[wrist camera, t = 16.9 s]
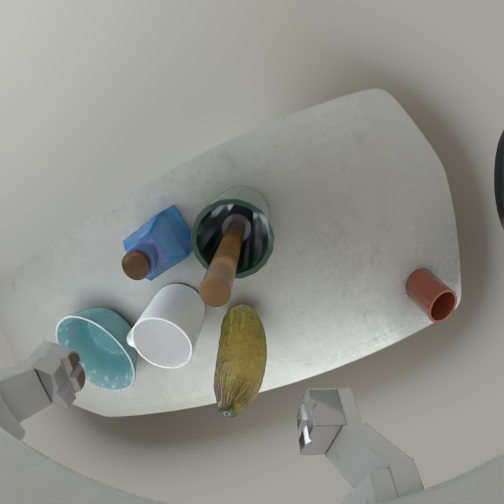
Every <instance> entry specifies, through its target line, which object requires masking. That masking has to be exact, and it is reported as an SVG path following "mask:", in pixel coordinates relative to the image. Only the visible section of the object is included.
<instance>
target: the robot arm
mask: <svg viewBox="0 0 504 504" xmlns="http://www.w3.org/2000/svg"><path fill="white" fill-rule="evenodd" d="M79 361H80V357H79V354H78V352H76V351H74V350H71V349H68V348H66V347H63V346H61V345H58V344H55V343H53V342H50V341H44V342H43V343H42V344H41V345H40V346H39V347H38V348H37V349H36V350H35V351H34V352H33V353H32V354H31V355H30V356H29V357H28V358H27V360H26V361H25V362H24V363H22V362H19V363H16V364H13V365H11V366H8V367H5V368H2V369H0V504H168V503H164V502H160V501H156V500H152V499H149V498H145V497H141V496H138V495H135V494H132V493H129V492H126V491H123V490H120V489H117V488H114V487H112V486H109V485H106V484H104V483H101V482H99V481H96V480H94V479H92V478H89V477H87V476H85V475H82V474H80V473H78V472H76V471H74V470H72V469H70V468H68V467H66V466H64V465H62V464H60V463H58V462H56V461H54V460H52V459H51V458H49V457H47V456H45V455H44V454H42V453H40V452H39V451H37V450H35V449H34V448H32V447H30V446H29V445H27V444H25V443H24V442H23V441H21V440H22V439H23V437H24V435H25V430H24V429H23V428H22V426H21V425H20V422H21V421H23V420H25V419H27V418H28V417H30V416H31V415H33V414H35V413H37V412H39V411H40V410H42V409H44V408H45V407H47V406H49V405H50V404H51V402H52V403H54V404H56V405H59V406H61V407H64V408H66V409H69V408H70V406H71V405H72V403H73V402H74V400H75V399H76V396H75V393H76V392H78V391H81V389H82V388H83V386H84V383H85V379H86V377H85V371H84V368H83V367H82V366H81V365H80V363H79ZM303 398H304V402H303V403H302V404H300V408H299V411H298V430H299V431H300V432H301V433H302V434H301V436H300V438H299V443H300V452H301V455H314V454H325V456H326V457H327V458H328V459H329V461H330V462H331V463H332V464H333V465H334V466H335V467H336V469H337V470H338V471H339V472H340V473H341V474H342V475H343V477H344V478H345V479H346V480H347V481H348V482H349V483H350V484H351V485H352V486H353V488H354V489H353V490H352V491H351V492H350V493H349V494H348V495H347V496H345V497H344V499H342V504H504V455H498V456H496V457H493V458H491V459H490V460H488V461H486V462H484V463H482V464H481V465H479V466H477V467H475V468H473V469H471V470H469V471H467V472H465V473H463V474H461V475H458V476H456V477H454V478H452V479H449V480H447V481H445V482H442V483H440V484H437V485H435V486H432V487H429V488H427V489H424V487H423V484H422V481H421V479H420V475H419V473H418V470H417V467H416V464H415V462H414V459H413V458H411V457H409V456H408V455H407V454H406V453H404V452H403V451H402V450H400V449H399V448H398V447H396V446H395V445H394V444H392V443H391V442H390V441H389V440H387V439H386V438H385V437H383V436H382V435H381V434H380V433H378V432H377V431H376V430H374V429H373V428H372V427H371V426H370V425H368V424H367V423H362V420H361V417H360V414H359V411H358V408H357V404H356V401H355V398H354V395H353V393H352V390H351V389H350V388H340V389H339V388H338V389H306V391H305V393H304V396H303Z"/></svg>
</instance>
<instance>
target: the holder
mask: <svg viewBox="0 0 504 504" xmlns="http://www.w3.org/2000/svg"><path fill="white" fill-rule="evenodd" d="M406 291H407V294H408V296H409V297H410V298H411V299H412V300H413V301H414V302H415V303H416V305H417V306H418V307H419V308H420V309H421V310H422V311H423V312H424V313H425V314H426V316H427V317H428V318H429V319H430V320H431V321H433V322H434V323H436V322H437V323H438V322H442V321H444V320H445V319H447V318H448V317H449V316H450V315H451V313H452V312H453V311H454V309H455V306H456V303H457V296H456V293H455V292H454V291H453V290H452V289H450V288H449V287H448V286H447V285H446V284H444V283H443V282H442V281H441V280H439V279H438V278H437V277H436V276H434V275H433V274H432V273H431V272H429V271H428V270H426V269H419V270H417V271H415V272H414V273H413V274H412V275H411V276H410V277H409V279H408V281H407V285H406Z"/></svg>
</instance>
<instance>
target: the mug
mask: <svg viewBox="0 0 504 504" xmlns="http://www.w3.org/2000/svg"><path fill="white" fill-rule="evenodd" d="M204 317H205V304H204V302H203V300H202V299H201V297H200V295H199V294H198V293H197V292H196V291H195V290H194V289H192V288H191V287H189V286H186V285H183V284H170V285H167V286H165V287H163V288H162V289H161V290H160V291H159V292H158V293H157V294H156V295H155V297H154V298H153V300H152V301H151V302H150V304H149V305H148V307H147V308H146V309H145V311H144V312H143V314H142V315H141V317H140V318H139V319H138V321H137V322H136V324H135V325H134V327H133V328H132V329H131V330H130V332H129V333H128V335H127V343H128V344H129V345H130V346H132V347H135V348H136V350H137V352H138V353H139V354H140V355H141V356H142V357H143V358H144V359H145V360H147V361H148V362H150V363H152V364H153V365H156V366H158V367H162V368H168V369H173V368H179V367H181V366H183V365H185V364H186V363H188V362H189V360H190V359H191V357H192V354H193V351H194V348H195V345H196V342H197V339H198V336H199V333H200V330H201V327H202V324H203V321H204Z"/></svg>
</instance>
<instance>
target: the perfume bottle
mask: <svg viewBox="0 0 504 504" xmlns="http://www.w3.org/2000/svg"><path fill="white" fill-rule="evenodd" d="M123 243H124V247H125V251H126V252H127V254H126V255H125V256H124V257H123V260H122V267H123V270H124V272H125V274H126V275H127V276H128V277H130V278H131V279H134V280H141V279H144V278H147V279H149V280H153V279H154V278H156V277H157V276H159V275H160V274H162V273H163V272H165V271H166V270H168V269H170V268H171V267H173V266H174V265H176V264H177V263H179V262H180V261H182V260H183V259H185V258H187V257H188V256H189V254H190V253H191V251H192V250H193V247H192V244H191V230H190V229H189V227H188V226H187V224H186V223H185V221H184V220H183V218H182V217H181V216H180V214H179V213H178V211H177V210H176V208H175V207H174V205H173V206H172V207H170V208H168V209H166V210H164V211H163V212H161V213H159V214H158V215H156V216H155V217H154V218H152V219H151V220H150V221H148V222H147V223H146V224H144V225H143V226H142V227H140V228H139V229H138V230H137V231H135V232H134V233H133V234H132V235H130V236H129V237H128V238H127V239H125V240H124V241H123Z"/></svg>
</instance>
